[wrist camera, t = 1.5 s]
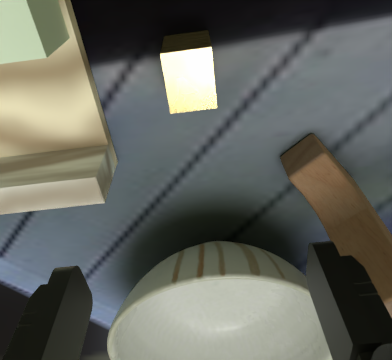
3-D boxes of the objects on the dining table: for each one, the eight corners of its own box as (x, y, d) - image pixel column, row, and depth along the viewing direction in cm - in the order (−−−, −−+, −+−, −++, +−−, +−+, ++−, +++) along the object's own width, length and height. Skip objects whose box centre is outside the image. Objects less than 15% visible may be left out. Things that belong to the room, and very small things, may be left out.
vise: (-130, -87, 26) (-226, -95, 20) (36, -114, 26) (-11, -130, 20) (6, 174, 40) (-27, 217, 34) (117, 161, 39) (104, 202, 33)
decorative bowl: (219, 158, 39) (230, 232, 30) (348, 267, 50) (388, 348, 40) (85, 275, 50) (60, 358, 40) (215, 344, 61) (221, 423, 51)
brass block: (164, 36, 32) (160, 53, 27) (207, 30, 32) (211, 47, 27) (173, 88, 35) (170, 113, 30) (213, 83, 35) (217, 108, 30)
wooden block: (278, 156, 39) (332, 287, 25) (311, 131, 38) (391, 256, 23) (321, 200, 43) (391, 337, 28) (354, 179, 42) (446, 313, 27)
